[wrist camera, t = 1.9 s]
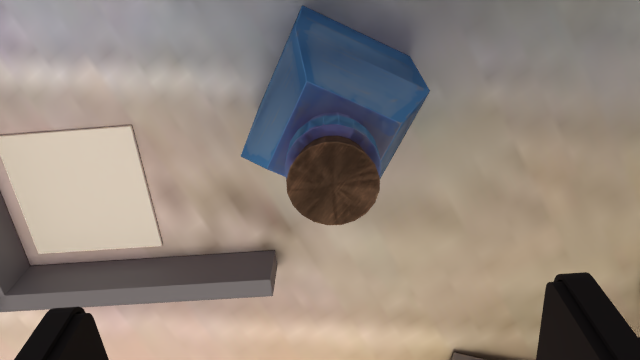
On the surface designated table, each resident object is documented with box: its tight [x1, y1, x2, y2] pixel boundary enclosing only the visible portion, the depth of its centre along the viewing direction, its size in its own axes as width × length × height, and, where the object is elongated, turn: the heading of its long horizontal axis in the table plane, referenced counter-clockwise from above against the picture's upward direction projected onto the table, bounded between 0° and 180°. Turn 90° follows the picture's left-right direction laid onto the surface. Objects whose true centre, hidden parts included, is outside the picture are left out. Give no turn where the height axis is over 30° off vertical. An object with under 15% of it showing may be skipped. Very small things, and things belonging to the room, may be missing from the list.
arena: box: [0, 125, 277, 312], centre depth 30 cm, size 17×15×3 cm
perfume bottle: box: [241, 6, 430, 225], centre depth 23 cm, size 6×6×12 cm
